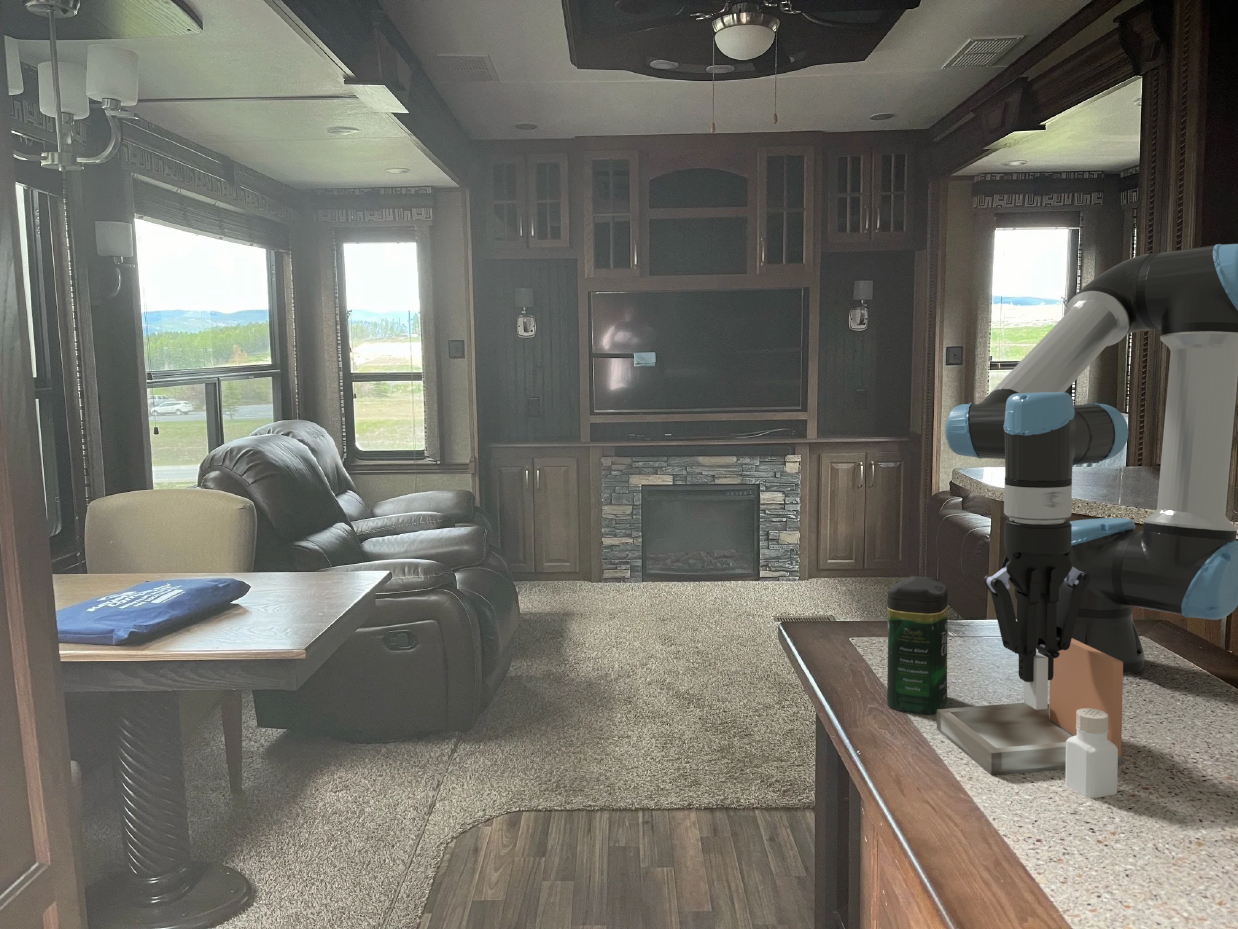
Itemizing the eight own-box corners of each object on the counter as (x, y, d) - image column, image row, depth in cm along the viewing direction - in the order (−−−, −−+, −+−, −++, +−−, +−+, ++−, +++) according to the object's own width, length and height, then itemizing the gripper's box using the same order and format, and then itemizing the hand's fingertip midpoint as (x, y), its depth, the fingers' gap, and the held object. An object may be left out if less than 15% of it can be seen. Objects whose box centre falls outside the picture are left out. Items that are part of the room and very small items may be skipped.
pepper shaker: (1089, 805, 99) (1090, 722, 99) (1062, 790, 103) (1063, 709, 102) (1119, 800, 101) (1121, 717, 100) (1091, 784, 104) (1093, 704, 103)
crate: (1043, 726, 121) (1044, 701, 121) (1111, 771, 108) (1112, 742, 107) (936, 735, 120) (936, 709, 119) (991, 782, 106) (991, 753, 106)
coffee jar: (940, 723, 124) (940, 589, 122) (881, 714, 128) (880, 584, 126) (953, 700, 132) (953, 574, 130) (897, 692, 136) (896, 570, 134)
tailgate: (1057, 725, 121) (1058, 631, 120) (1122, 767, 108) (1125, 662, 107) (1047, 726, 121) (1048, 632, 120) (1111, 768, 108) (1113, 663, 107)
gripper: (1003, 526, 107) (1002, 720, 109) (1107, 520, 108) (1103, 712, 110) (971, 517, 114) (971, 698, 116) (1069, 511, 115) (1066, 691, 118)
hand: (1035, 705), depth 113 cm, fingers closed
